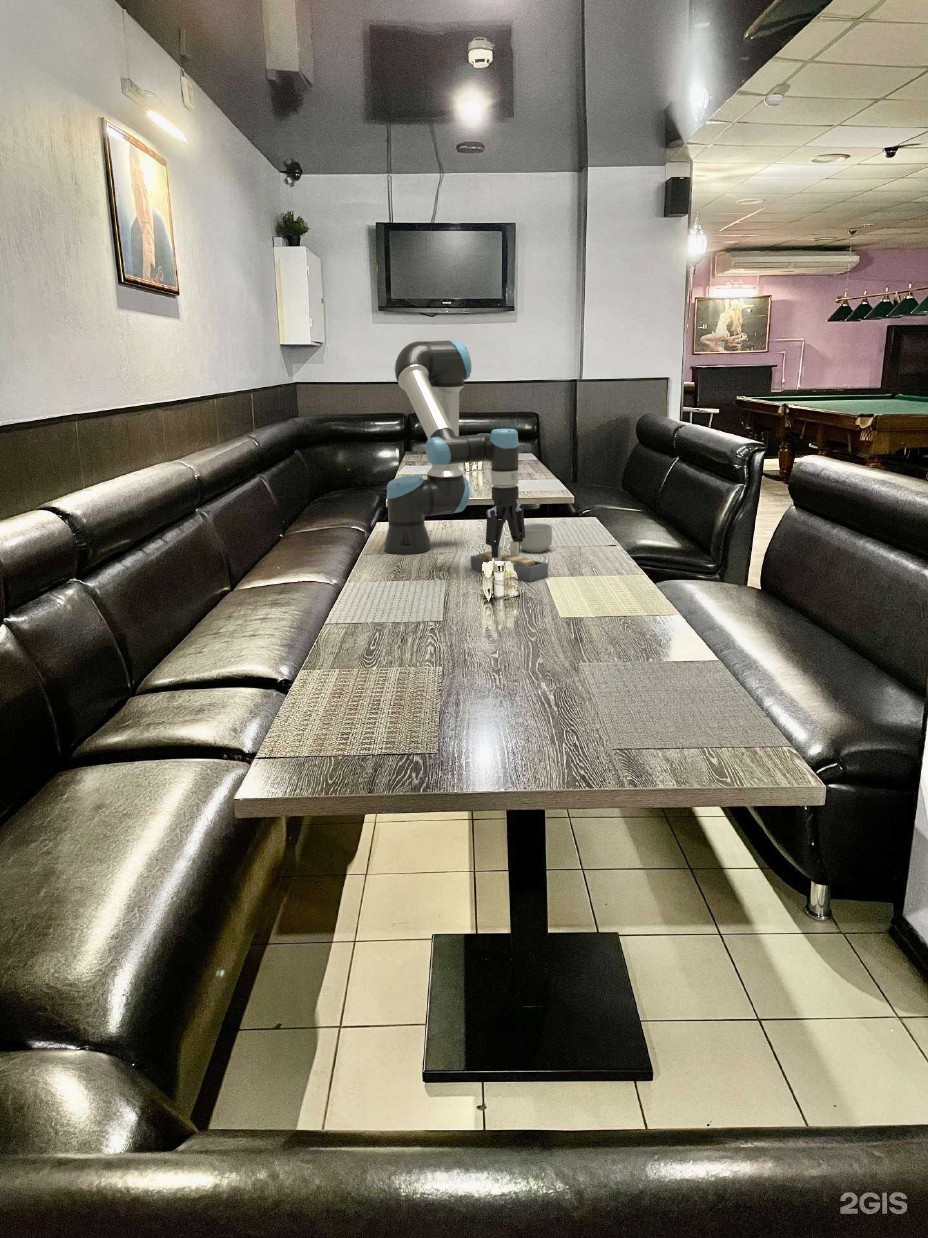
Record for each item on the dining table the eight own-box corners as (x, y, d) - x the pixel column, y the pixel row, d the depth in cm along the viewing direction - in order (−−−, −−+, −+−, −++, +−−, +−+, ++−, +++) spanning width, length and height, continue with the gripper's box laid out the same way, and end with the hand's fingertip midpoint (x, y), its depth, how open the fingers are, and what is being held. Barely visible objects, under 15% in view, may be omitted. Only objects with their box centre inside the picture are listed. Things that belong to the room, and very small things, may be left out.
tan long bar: (479, 570, 255) (479, 553, 254) (489, 568, 258) (488, 551, 257) (525, 579, 243) (525, 562, 242) (535, 577, 246) (535, 559, 244)
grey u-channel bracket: (471, 569, 255) (470, 556, 254) (488, 565, 260) (488, 552, 259) (485, 572, 251) (485, 559, 250) (503, 568, 256) (503, 554, 255)
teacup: (553, 553, 273) (553, 528, 271) (518, 554, 273) (518, 529, 271) (549, 544, 286) (550, 520, 284) (516, 545, 287) (516, 521, 284)
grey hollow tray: (547, 577, 244) (548, 563, 243) (530, 582, 239) (530, 567, 238) (531, 573, 249) (531, 560, 247) (514, 578, 244) (513, 564, 242)
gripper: (490, 490, 234) (491, 574, 241) (538, 482, 247) (538, 562, 254) (470, 488, 240) (472, 570, 246) (518, 480, 253) (519, 558, 259)
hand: (506, 566), depth 250 cm, fingers open, 7 cm apart
